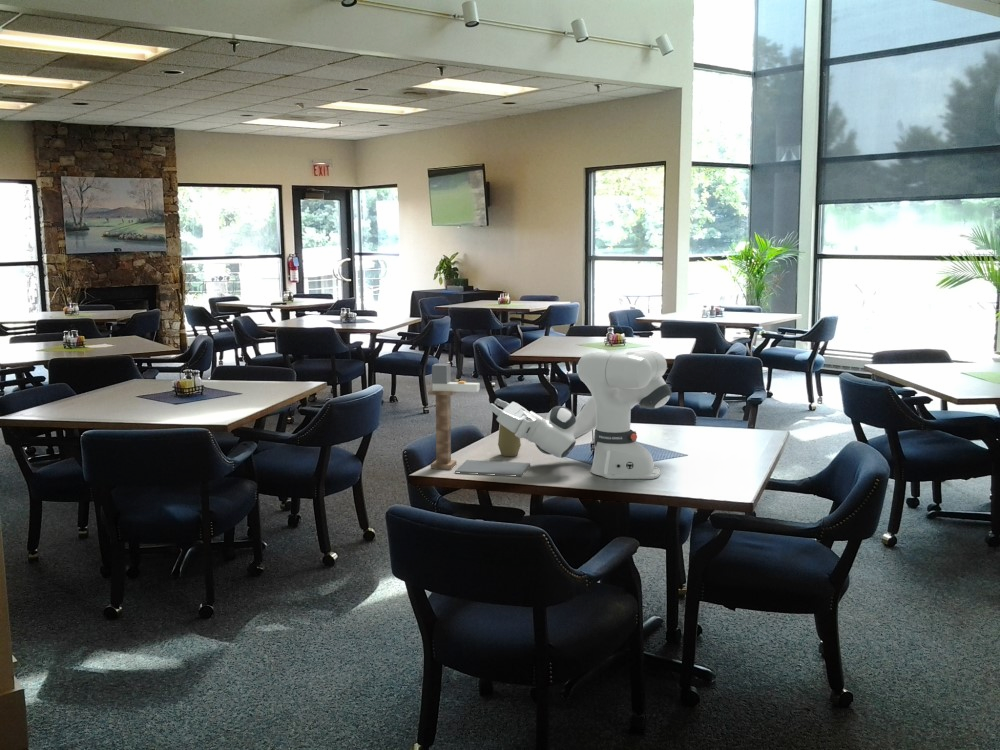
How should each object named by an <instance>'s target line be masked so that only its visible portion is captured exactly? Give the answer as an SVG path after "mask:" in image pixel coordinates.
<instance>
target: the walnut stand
mask: <svg viewBox="0 0 1000 750" xmlns="http://www.w3.org/2000/svg"><path fill="white" fill-rule="evenodd" d="M456 393H457V392H455V391H433V388H432V389H431V390H428V391H427V395H429V396H430V395H432V396H435V454H436V455H435V459H436V460H434V461H433V462H432V463H430V469H431V468H434V469H433V470H446V469H451V470H453V469H454V468H455V467H456V466H457V460H452V441H451V440H452V438H451V437H452V431H451V430H452V425H451V424H452V423H451V422H452V421H451V420H452V417H451V416H452V415H451V412H452V411H451V396H453V395H455V394H456ZM455 465H456V466H455ZM454 466H455V467H454ZM453 467H454V468H453ZM452 468H453V469H452Z"/></svg>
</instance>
